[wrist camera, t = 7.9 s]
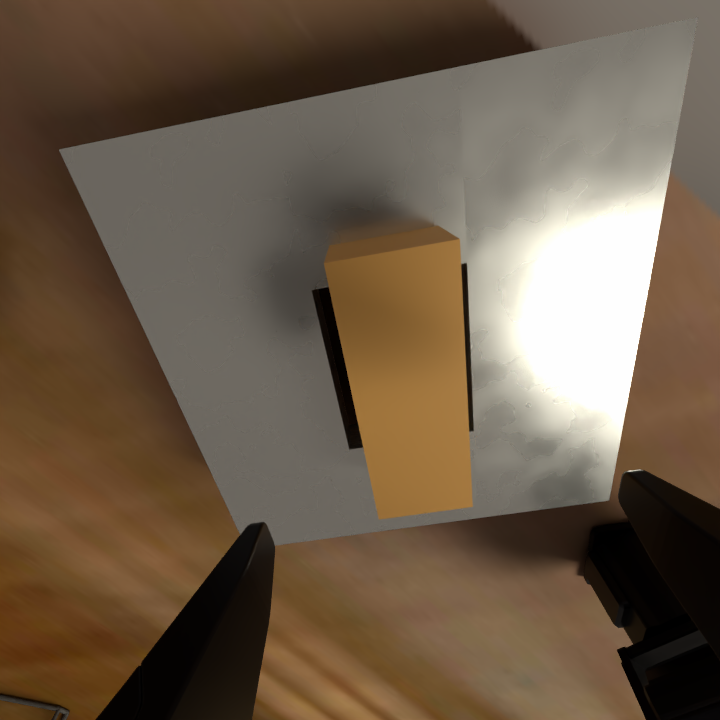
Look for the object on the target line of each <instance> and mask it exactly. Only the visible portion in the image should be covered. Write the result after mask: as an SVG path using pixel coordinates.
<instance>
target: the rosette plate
mask: <svg viewBox="0 0 720 720" xmlns="http://www.w3.org/2000/svg"><path fill="white" fill-rule="evenodd" d="M697 21H698V17H696V18H691V19H687V20H682V21H677V22H672V23H667V24H662V25H657V26H653V27H648V28H644V29H639V30H634V31H628V32H624V33H619V34H614V35H609V36H605V37H600V38H595V39H590V40H585V41H580V42H576V43H571V44H566V45H561V46H556V47H551V48H546V49H542V50H537V51H532V52H527V53H522V54H517V55H513V56H508V57H503V58H498V59H493V60H489V61H484V62H479V63H474V64H469V65H464V66H460V67H455V68H450V69H445V70H440V71H435V72H431V73H426V74H421V75H416V76H411V77H407V78H402V79H397V80H392V81H387V82H382V83H378V84H373V85H368V86H363V87H358V88H353V89H349V90H344V91H339V92H334V93H329V94H324V95H320V96H315V97H310V98H305V99H300V100H296V101H291V102H286V103H281V104H276V105H271V106H267V107H262V108H257V109H252V110H247V111H242V112H238V113H233V114H228V115H223V116H218V117H214V118H209V119H204V120H199V121H194V122H189V123H185V124H180V125H175V126H170V127H165V128H160V129H156V130H151V131H146V132H141V133H136V134H131V135H127V136H122V137H117V138H112V139H107V140H103V141H98V142H93V143H88V144H83V145H78V146H74V147H69V148H64V149H59V151H60V153H61V155H62V157H63V160H64V162H65V164H66V166H67V168H68V170H69V172H70V174H71V177H72V179H73V181H74V183H75V185H76V187H77V189H78V191H79V194H80V196H81V198H82V200H83V202H84V204H85V206H86V208H87V211H88V213H89V215H90V217H91V219H92V221H93V223H94V225H95V227H96V230H97V232H98V234H99V236H100V238H101V240H102V242H103V244H104V247H105V249H106V251H107V253H108V255H109V257H110V259H111V261H112V264H113V266H114V268H115V270H116V272H117V274H118V276H119V278H120V281H121V283H122V285H123V287H124V289H125V291H126V293H127V295H128V298H129V300H130V302H131V304H132V306H133V308H134V310H135V312H136V314H137V317H138V319H139V321H140V323H141V325H142V327H143V329H144V331H145V334H146V336H147V338H148V340H149V342H150V344H151V346H152V348H153V351H154V353H155V355H156V357H157V359H158V361H159V363H160V365H161V368H162V370H163V372H164V374H165V376H166V378H167V380H168V382H169V384H170V387H171V389H172V391H173V393H174V395H175V397H176V399H177V401H178V404H179V406H180V408H181V410H182V412H183V414H184V416H185V418H186V421H187V423H188V425H189V427H190V429H191V431H192V433H193V435H194V438H195V440H196V442H197V444H198V446H199V448H200V450H201V452H202V455H203V457H204V459H205V461H206V463H207V465H208V467H209V469H210V471H211V474H212V476H213V478H214V480H215V482H216V484H217V486H218V488H219V491H220V493H221V495H222V497H223V499H224V501H225V503H226V505H227V508H228V510H229V512H230V514H231V516H232V518H233V520H234V522H235V525H236V527H237V529H238V531H239V533H240V535H241V533H242V532H243V531H244V529H245V528H246V527H247V526H248V525H249V524H251V523H257V522H265V523H266V524H267V526H268V529H269V531H270V533H271V536H272V538H273V541H274V544H275V545H282V544H289V543H297V542H304V541H312V540H319V539H326V538H334V537H341V536H349V535H356V534H364V533H371V532H379V531H386V530H393V529H401V528H408V527H416V526H423V525H431V524H438V523H446V522H453V521H461V520H468V519H475V518H483V517H490V516H498V515H505V514H513V513H520V512H528V511H535V510H542V509H550V508H557V507H565V506H572V505H580V504H587V503H595V502H602V501H609V498H610V493H611V487H612V482H613V476H614V471H615V466H616V460H617V455H618V449H619V444H620V439H621V433H622V428H623V422H624V417H625V411H626V406H627V401H628V395H629V390H630V384H631V379H632V373H633V368H634V363H635V357H636V352H637V346H638V341H639V336H640V330H641V325H642V319H643V314H644V308H645V303H646V298H647V292H648V287H649V281H650V276H651V270H652V265H653V260H654V254H655V249H656V243H657V238H658V233H659V227H660V222H661V216H662V211H663V205H664V200H665V195H666V189H667V184H668V178H669V173H670V167H671V162H672V156H673V151H674V146H675V140H676V135H677V129H678V123H679V118H680V113H681V108H682V102H683V97H684V92H685V86H686V81H687V75H688V69H689V64H690V59H691V53H692V48H693V43H694V37H695V32H696V26H697ZM434 226H440V227H441V228H443V229H445V230H446V231H448V232H449V233H451V234H453V235H454V236H456V237H458V238H459V239H460V251H461V272H462V292H463V313H464V334H465V355H466V376H467V396H468V417H469V438H470V459H471V480H472V500H473V507H468V508H461V509H453V510H446V511H439V512H431V513H424V514H417V515H409V516H402V517H395V518H387V519H380V520H379V518H378V514H377V509H376V504H375V500H374V495H373V490H372V486H371V481H370V476H369V472H368V467H367V462H366V458H365V453H364V448H363V444H362V439H361V434H360V430H359V425H358V423H356V424H349V420H348V416H347V411H346V407H345V403H344V398H343V394H342V389H341V385H340V381H339V376H338V372H337V368H336V363H335V359H334V354H333V350H332V346H331V341H330V337H329V332H328V328H327V324H326V319H325V315H324V311H323V306H322V302H321V297H320V293H319V289H321V288H327V287H329V285H328V281H327V276H326V271H325V267H324V261H325V258H326V255H327V251H328V248H329V245H335V244H340V243H346V242H351V241H357V240H362V239H368V238H373V237H379V236H384V235H390V234H395V233H401V232H406V231H412V230H417V229H423V228H428V227H434Z"/></svg>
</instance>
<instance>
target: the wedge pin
mask: <svg viewBox="0 0 720 720" xmlns="http://www.w3.org/2000/svg"><path fill="white" fill-rule="evenodd" d="M324 267H325V271H326V276H327V281H328V285H329V290H330V295H331V299H332V304H333V309H334V313H335V318H336V323H337V327H338V332H339V337H340V341H341V346H342V351H343V355H344V360H345V365H346V369H347V374H348V379H349V383H350V388H351V393H352V397H353V402H354V407H355V411H356V416H357V420H358V425H359V430H360V434H361V439H362V444H363V448H364V453H365V458H366V462H367V467H368V472H369V476H370V481H371V486H372V490H373V495H374V500H375V504H376V509H377V514H378V518H379V520H380V519H387V518H395V517H402V516H409V515H417V514H424V513H431V512H439V511H446V510H453V509H461V508H468V507H473V500H472V480H471V459H470V438H469V417H468V396H467V376H466V355H465V334H464V313H463V292H462V272H461V251H460V239H459V238H458V237H456V236H454V235H453V234H451V233H449V232H448V231H446V230H445V229H443V228H441V227H440V226H434V227H428V228H423V229H417V230H412V231H406V232H401V233H395V234H390V235H384V236H379V237H373V238H368V239H362V240H357V241H351V242H346V243H340V244H335V245H329V248H328V251H327V255H326V258H325V261H324Z"/></svg>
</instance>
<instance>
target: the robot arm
mask: <svg viewBox="0 0 720 720" xmlns="http://www.w3.org/2000/svg"><path fill="white" fill-rule="evenodd" d="M618 499H619V502H620V505H621V507H622V509H623V510H624V512H625V514H626V516H627V517H628V519H629V521H630V523H623V524H616V525H608V526H600V527H596V528H594V529H593V530H592V531H591V536H590V542H589V548H588V553H587V557H586V563H585V569H584V579H585V581H586V582H587V584H590V585H591V586H592V588H593V589H594V591H595V593H596V595H597V596H598V598H599V600H600V601H601V603H602V605H603V607H604V608H605V610H606V612H607V614H608V615H609V617H610V619H611V620H612V622H613V624H614V625H615V626H617V627H618V628H624V630H625V631H626V633H627V635H628V636H629V638H630V640H631V641H632V643H633V645H631V646H629V647H622V648H620V649H617V652H618V654H619V656H620V658H621V660H622V663H621V664H622V667H623V669H624V671H625V673H626V676H627V678H628V680H629V682H630V685H631V687H632V689H633V691H634V694H635V696H636V698H637V700H638V703H639V705H640V707H641V709H642V711H643V714H644V716H645V719H646V720H720V509H719V508H717V507H715V506H713V505H711V504H709V503H707V502H705V501H703V500H701V499H699V498H697V497H695V496H693V495H692V494H690V493H688V492H686V491H684V490H682V489H680V488H678V487H676V486H674V485H672V484H670V483H668V482H666V481H664V480H662V479H660V478H659V477H657V476H655V475H653V474H651V473H649V472H647V471H644V470H632V471H626V472H624V473H623V474H622V478H621V483H620V488H619V493H618ZM274 558H275V544H274V541H273V538H272V536H271V533H270V531H269V529H268V526H267V524H266V523H265V522H257V523H251V524H249V525H248V526H247V527H246V528H245V529H244V531H243V532H242V533H241V535H240V536H239V537H238V538H237V540H236V541H235V542H234V544H233V545H232V546H231V547H230V549H229V550H228V551H227V553H226V554H225V555H224V557H223V558H222V559H221V560H220V562H219V563H218V564H217V566H216V567H215V568H214V569H213V571H212V572H211V573H210V575H209V576H208V577H207V578H206V580H205V581H204V582H203V584H202V585H201V586H200V587H199V589H198V590H197V591H196V593H195V594H194V595H193V596H192V598H191V599H190V600H189V602H188V603H187V604H186V605H185V607H184V608H183V609H182V611H181V612H180V613H179V614H178V616H177V617H176V618H175V620H174V621H173V622H172V623H171V625H170V626H169V627H168V629H167V630H166V631H165V632H164V634H163V635H162V636H161V638H160V639H159V640H158V641H157V643H156V644H155V645H154V647H153V648H152V649H151V650H150V652H149V653H148V654H147V656H146V657H145V658H144V660H143V661H142V663H141V666H138V667H137V668H136V670H135V671H134V672H133V673H132V675H131V676H130V677H129V679H128V680H127V681H126V682H125V684H124V685H123V686H122V688H121V689H120V690H119V691H118V693H117V694H116V695H115V696H114V697H113V699H112V700H111V701H110V702H109V704H108V705H107V706H106V707H105V709H104V710H103V711H102V712H101V714H100V715H99V716H98V717H97V718H96V720H252V715H253V710H254V704H255V698H256V693H257V687H258V681H259V676H260V670H261V665H262V659H263V653H264V648H265V642H266V636H267V631H268V625H269V618H270V610H271V598H272V585H273V572H274Z"/></svg>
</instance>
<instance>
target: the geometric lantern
mask: <svg viewBox="0 0 720 720" xmlns="http://www.w3.org/2000/svg"><path fill="white" fill-rule="evenodd" d="M0 700H3V701H8V702H13V703H18V704H24V705H29V706H34V707H39V708H44V709H49V710H54V711H56V712H55V714H54V716H53V718H52V720H56V718H57V716H58V714H59V712H60V713H63V714H64V715H63V717H62V719H61V720H66V719H67V717H68V715H69V710H67V709H65V708H62V707H60V706H55V705H50V704H45V703H40V702H35V701H30V700H25V699H20V698H15V697H10V696H5V695H0Z"/></svg>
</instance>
